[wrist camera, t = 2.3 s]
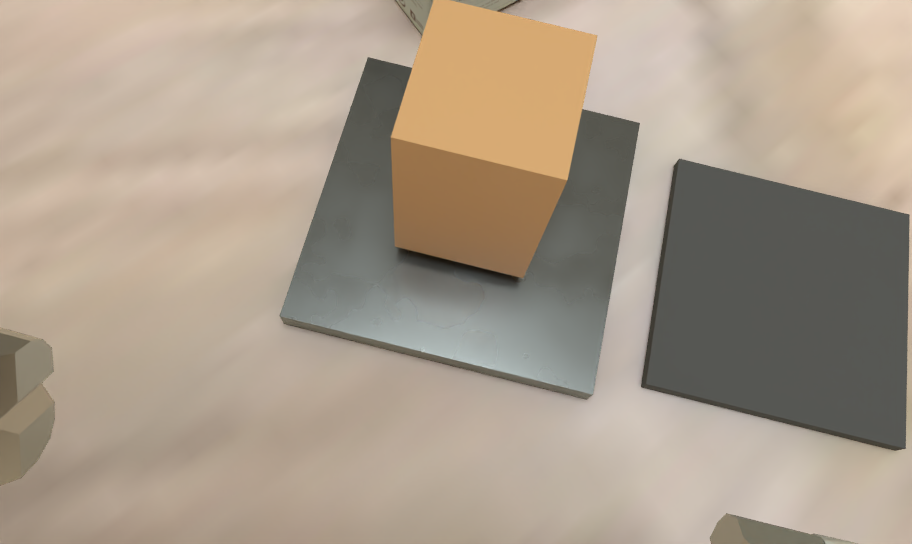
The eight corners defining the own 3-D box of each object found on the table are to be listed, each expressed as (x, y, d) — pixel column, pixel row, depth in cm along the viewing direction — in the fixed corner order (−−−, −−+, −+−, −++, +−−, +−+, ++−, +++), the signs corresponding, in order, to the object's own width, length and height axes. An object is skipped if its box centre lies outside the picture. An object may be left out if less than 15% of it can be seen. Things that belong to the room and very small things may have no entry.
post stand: (283, 323, 28) (231, 230, 20) (369, 71, 32) (356, -95, 24) (586, 399, 28) (665, 338, 19) (632, 135, 32) (714, -9, 24)
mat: (641, 386, 28) (646, 383, 28) (674, 165, 32) (679, 158, 31) (895, 450, 28) (905, 448, 27) (900, 220, 31) (909, 214, 31)
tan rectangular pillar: (394, 246, 28) (390, 137, 20) (427, 135, 29) (434, -4, 22) (523, 278, 27) (567, 180, 20) (548, 164, 29) (597, 35, 22)
